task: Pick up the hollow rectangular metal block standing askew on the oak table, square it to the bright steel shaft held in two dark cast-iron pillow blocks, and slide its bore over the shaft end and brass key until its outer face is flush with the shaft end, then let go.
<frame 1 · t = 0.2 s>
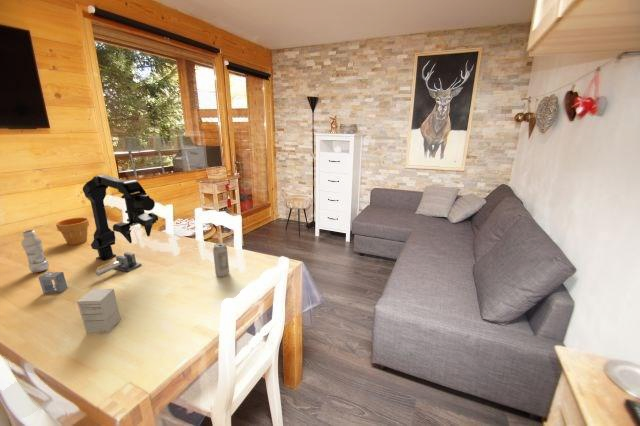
hand: (139, 239, 134), 15 cm above the table, fingers open, 9 cm apart
plastic bottle: (40, 271, 134), on the table
shaft stand: (116, 272, 134), on the table
hollow rectangular metal block: (55, 290, 118), on the table
flower pot: (77, 242, 167), on the table
supplement box: (104, 326, 98), on the table
energy drink can: (222, 274, 133), on the table
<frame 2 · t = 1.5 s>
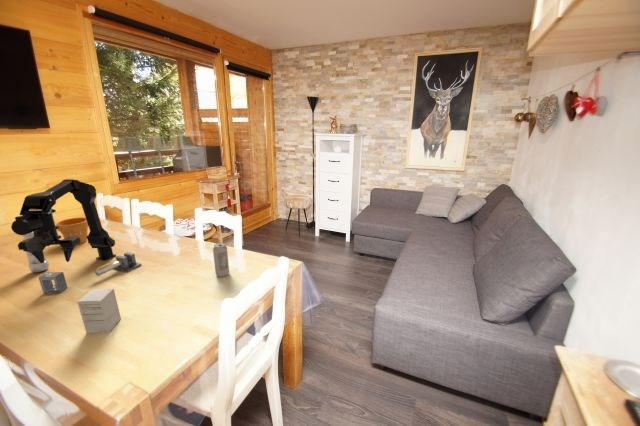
hand: (55, 262, 116), 13 cm above the table, fingers open, 9 cm apart
nothing on the table moved.
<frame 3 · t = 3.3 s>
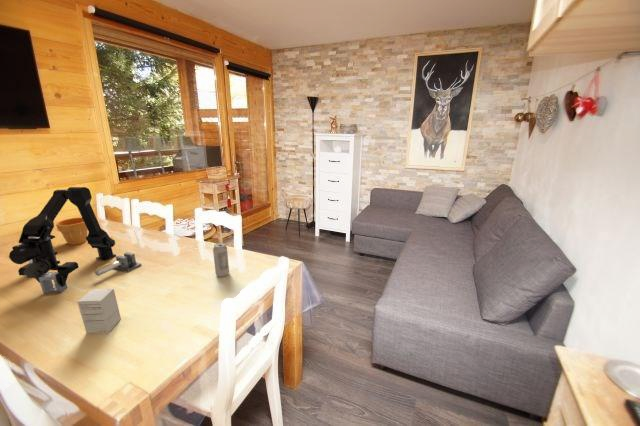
hand: (54, 286, 118), 2 cm above the table, fingers closed on hollow rectangular metal block, 6 cm apart
hollow rectangular metal block: (55, 290, 118), on the table, touching gripper
everything else where it was.
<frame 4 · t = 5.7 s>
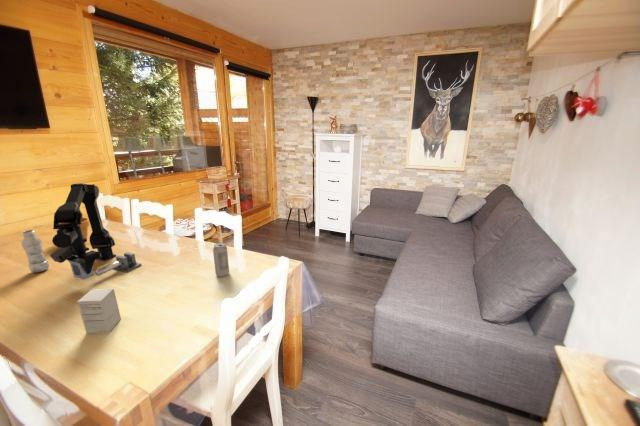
hand: (83, 272, 120), 7 cm above the table, fingers closed on hollow rectangular metal block, 6 cm apart
hollow rectangular metal block: (84, 276, 121), point 5 cm above the table, touching gripper
everything else where it was.
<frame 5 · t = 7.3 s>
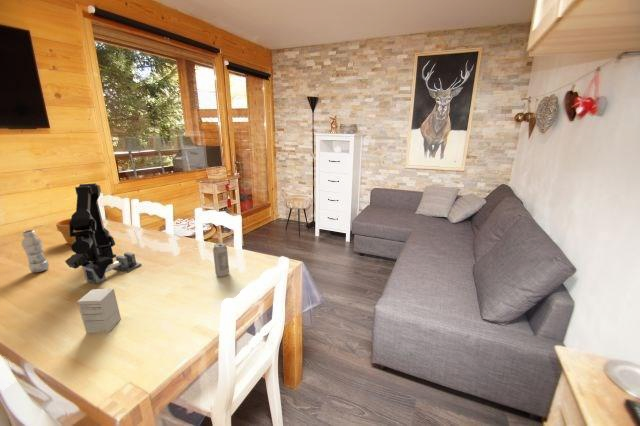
hand: (96, 277, 125), 2 cm above the table, fingers closed on hollow rectangular metal block, 6 cm apart
hollow rectangular metal block: (96, 280, 126), on the table, touching gripper
everything else where it was.
when the fingers open (2 cm above the table, at t = 8.4 s): hollow rectangular metal block stays where it is, on the table.
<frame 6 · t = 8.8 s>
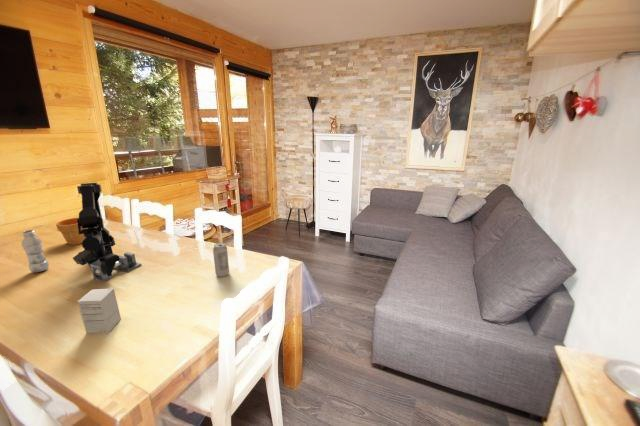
hand: (102, 273, 128), 2 cm above the table, fingers open, 9 cm apart
hollow rectangular metal block: (103, 278, 128), on the table
everything else where it was.
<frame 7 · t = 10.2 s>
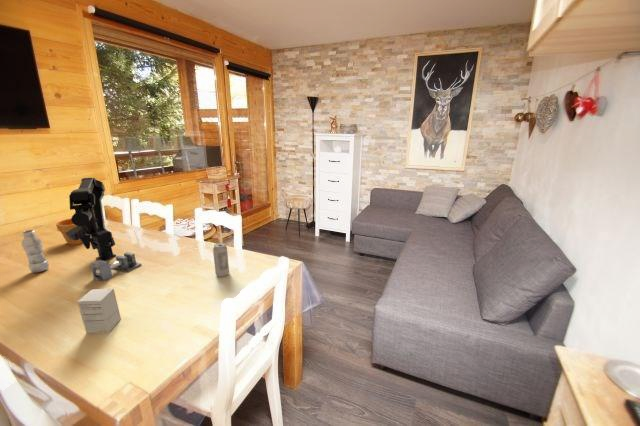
hand: (95, 250, 130), 11 cm above the table, fingers open, 9 cm apart
nothing on the table moved.
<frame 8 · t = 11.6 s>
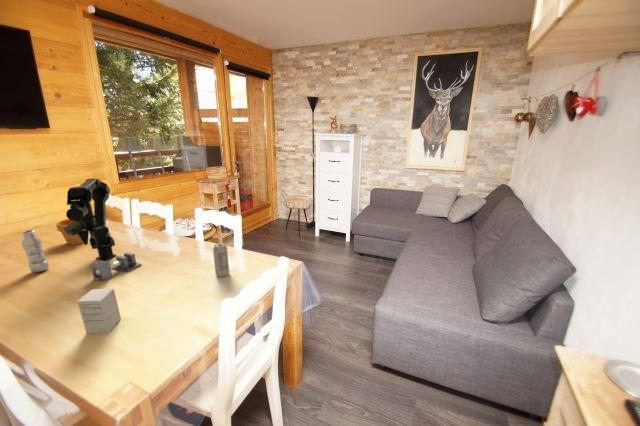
hand: (92, 246, 133), 12 cm above the table, fingers open, 9 cm apart
nothing on the table moved.
at the end: hollow rectangular metal block 0.8 cm from the target spot on the shaft stand, point 0.0 cm above the shaft stand's base; hollow rectangular metal block tilted 0°; the gripper is holding nothing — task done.
